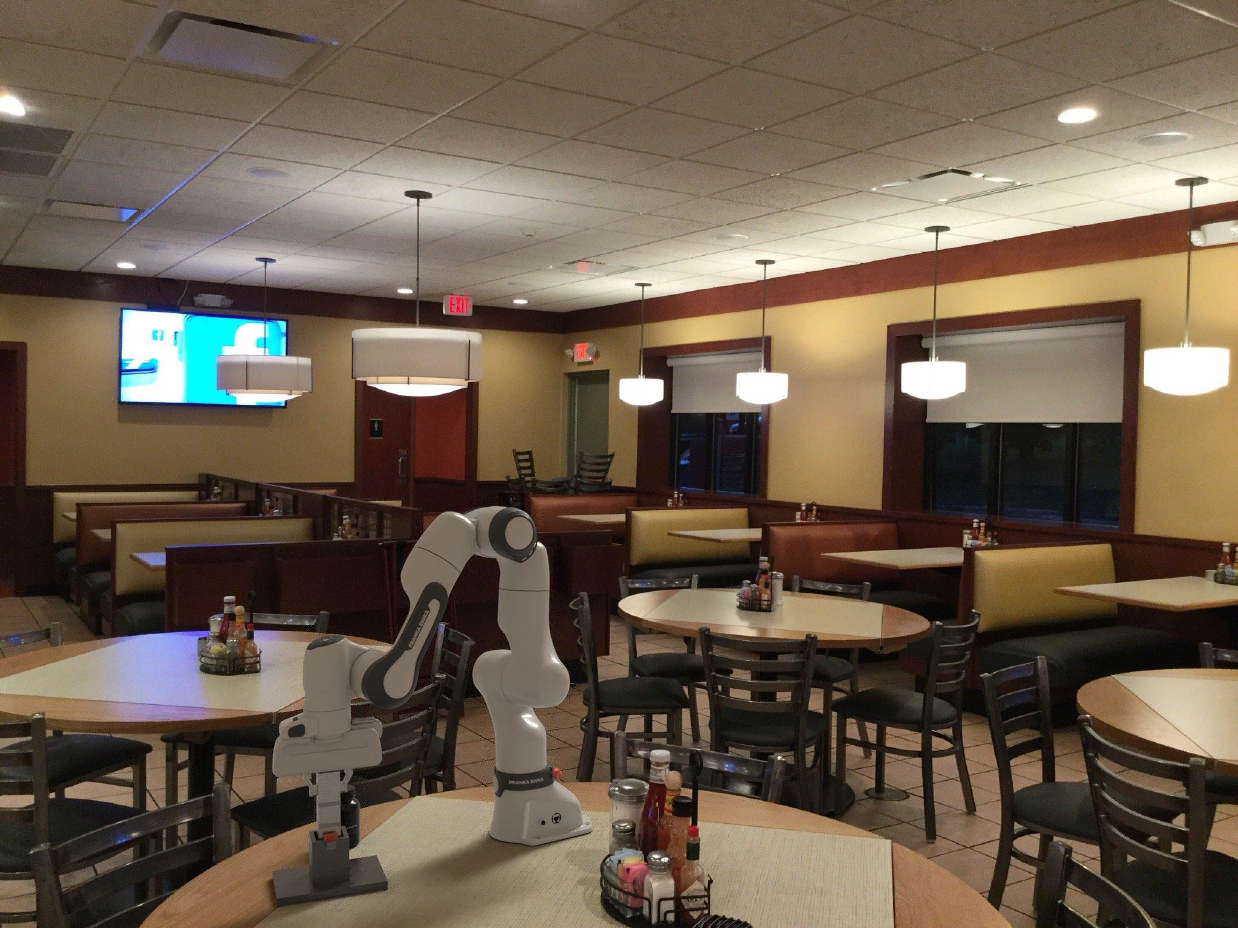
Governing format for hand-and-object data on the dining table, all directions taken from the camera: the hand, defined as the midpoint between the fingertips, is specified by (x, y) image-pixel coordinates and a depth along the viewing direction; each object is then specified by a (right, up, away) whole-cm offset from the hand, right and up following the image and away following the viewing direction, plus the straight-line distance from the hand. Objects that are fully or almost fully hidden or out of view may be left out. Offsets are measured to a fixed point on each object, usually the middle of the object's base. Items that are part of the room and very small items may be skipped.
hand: (328, 793), depth 196 cm
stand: (0, -17, 0) cm, 17 cm away
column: (0, -11, 0) cm, 11 cm away
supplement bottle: (-3, -18, +20) cm, 27 cm away
